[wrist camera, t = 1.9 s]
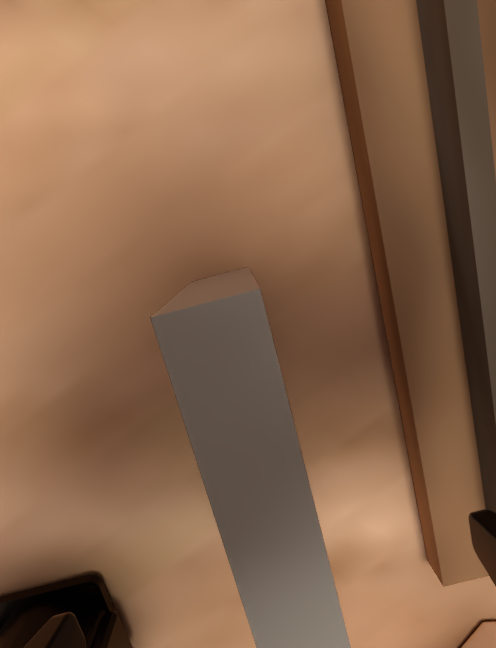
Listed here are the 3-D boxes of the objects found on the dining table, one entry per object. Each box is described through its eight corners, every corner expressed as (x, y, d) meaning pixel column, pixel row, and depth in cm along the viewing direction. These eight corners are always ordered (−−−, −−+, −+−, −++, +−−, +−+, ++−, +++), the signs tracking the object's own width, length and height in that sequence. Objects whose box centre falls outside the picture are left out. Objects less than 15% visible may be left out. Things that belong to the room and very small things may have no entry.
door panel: (259, 514, 19) (277, 711, 11) (191, 281, 16) (150, 317, 8) (308, 502, 18) (361, 692, 11) (248, 266, 16) (260, 288, 8)
